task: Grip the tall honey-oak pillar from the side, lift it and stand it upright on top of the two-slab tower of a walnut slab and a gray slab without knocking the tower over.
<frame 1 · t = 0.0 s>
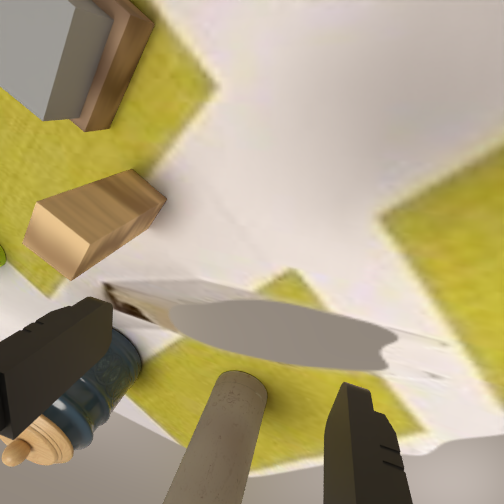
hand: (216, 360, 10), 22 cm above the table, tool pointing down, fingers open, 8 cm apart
oak pillar: (140, 200, 35), on the table
walnut slab: (86, 40, 29), on the table, touching gray slab
thermos bottle: (242, 388, 45), on the table
canister: (109, 350, 50), on the table
gray slab: (51, 36, 25), point 3 cm above the table, touching walnut slab
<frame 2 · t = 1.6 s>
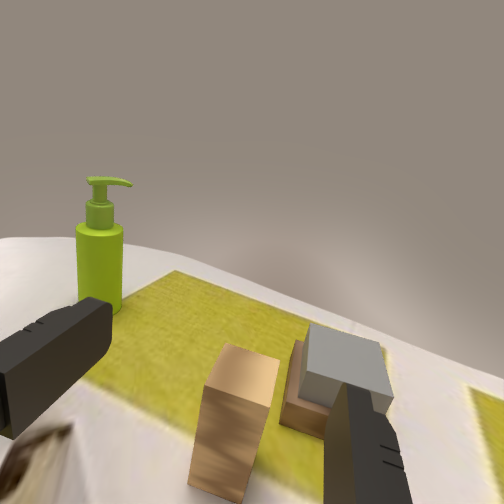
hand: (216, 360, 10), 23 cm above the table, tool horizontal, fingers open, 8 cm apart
oak pillar: (222, 466, 29), on the table
walnut slab: (326, 403, 38), on the table, touching gray slab
gray slab: (336, 380, 37), point 4 cm above the table, touching walnut slab
soap dispenser: (104, 307, 47), on the table
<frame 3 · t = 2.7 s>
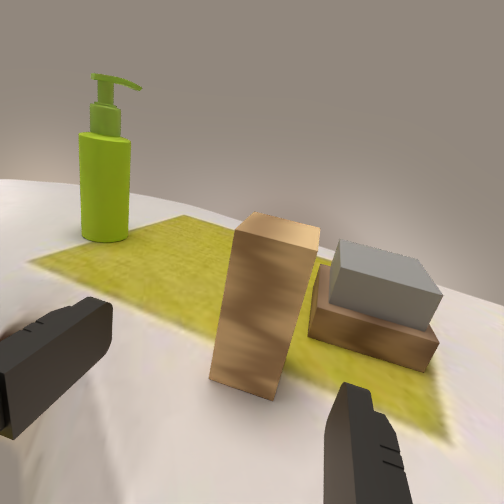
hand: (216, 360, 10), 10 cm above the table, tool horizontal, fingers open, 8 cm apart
oak pillar: (248, 366, 24), on the table
walnut slab: (357, 326, 34), on the table, touching gray slab
gray slab: (370, 295, 33), point 3 cm above the table, touching walnut slab
soap dispenser: (109, 235, 43), on the table
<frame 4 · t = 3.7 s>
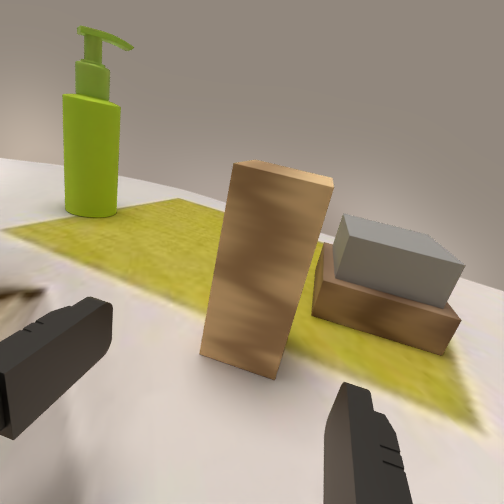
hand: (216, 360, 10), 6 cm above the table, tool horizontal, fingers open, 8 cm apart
oak pillar: (246, 343, 21), on the table
walnut slab: (365, 307, 31), on the table, touching gray slab
gray slab: (378, 272, 29), point 4 cm above the table, touching walnut slab
soap dispenser: (96, 211, 39), on the table
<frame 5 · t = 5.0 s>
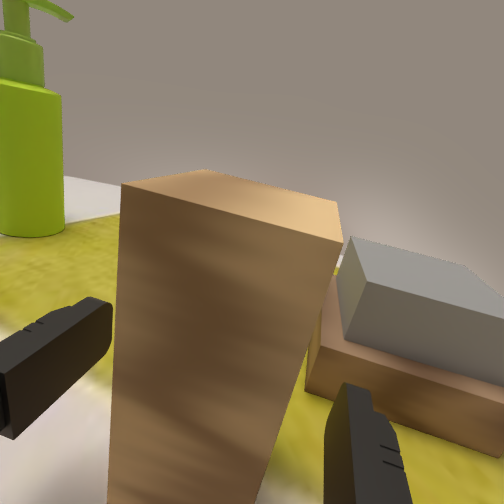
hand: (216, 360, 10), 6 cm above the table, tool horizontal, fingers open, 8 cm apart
oak pillar: (196, 464, 13), on the table
walnut slab: (378, 366, 23), on the table, touching gray slab
gray slab: (401, 321, 21), point 3 cm above the table, touching walnut slab
soap dispenser: (37, 228, 31), on the table
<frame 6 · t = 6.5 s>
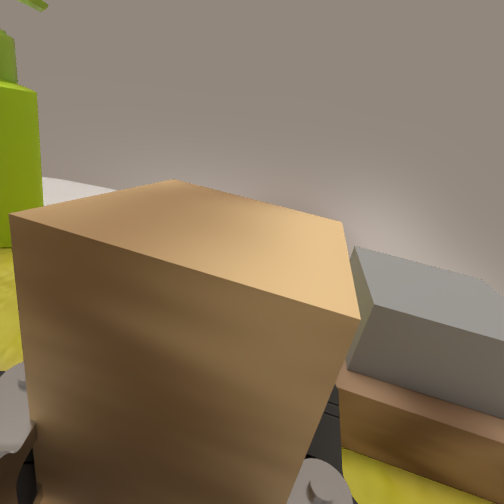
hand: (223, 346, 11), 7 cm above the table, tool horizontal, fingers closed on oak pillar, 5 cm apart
walnut slab: (384, 394, 20), on the table, touching gray slab
gray slab: (412, 343, 19), point 3 cm above the table, touching walnut slab
soap dispenser: (15, 237, 29), on the table
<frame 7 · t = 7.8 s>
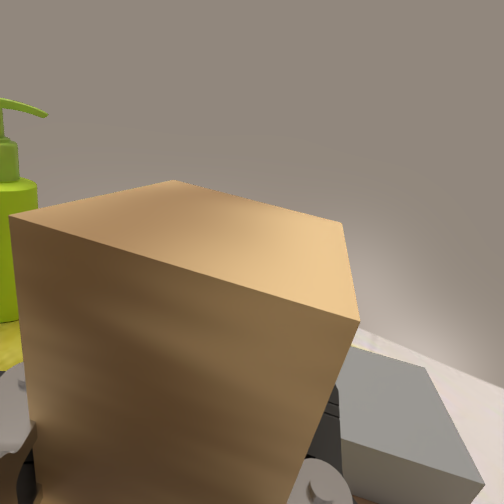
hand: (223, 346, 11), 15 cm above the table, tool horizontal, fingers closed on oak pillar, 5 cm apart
gray slab: (361, 433, 22), point 4 cm above the table, touching walnut slab
soap dispenser: (14, 306, 32), on the table
when the fingers open (16 cm above the table, at t = 11.5 s): oak pillar drops 2 cm, resting on gray slab.
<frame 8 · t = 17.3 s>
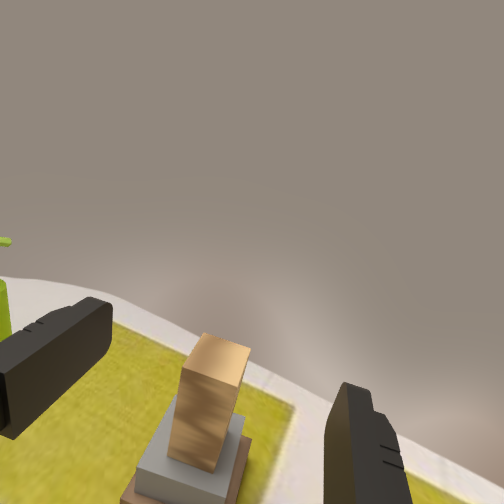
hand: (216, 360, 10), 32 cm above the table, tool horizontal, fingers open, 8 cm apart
oak pillar: (199, 441, 32), point 8 cm above the table, touching gray slab
walnut slab: (189, 486, 35), on the table, touching gray slab
gray slab: (192, 462, 34), point 4 cm above the table, touching oak pillar, walnut slab
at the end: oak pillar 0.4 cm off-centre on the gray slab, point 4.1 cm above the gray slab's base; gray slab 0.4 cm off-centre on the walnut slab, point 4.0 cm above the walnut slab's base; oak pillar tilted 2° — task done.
